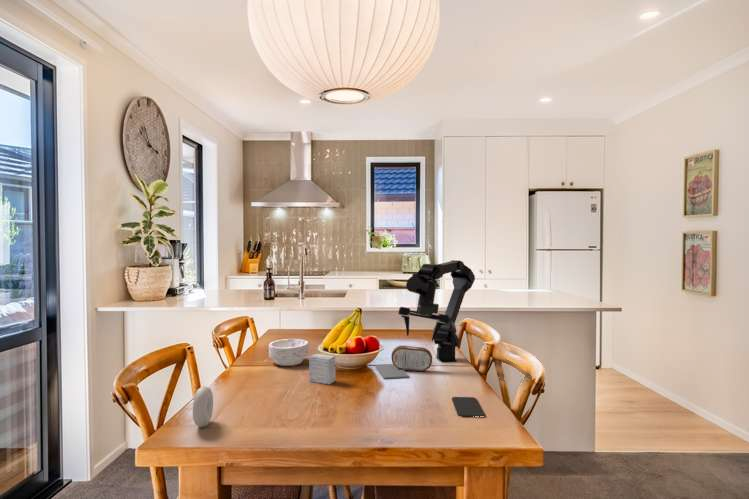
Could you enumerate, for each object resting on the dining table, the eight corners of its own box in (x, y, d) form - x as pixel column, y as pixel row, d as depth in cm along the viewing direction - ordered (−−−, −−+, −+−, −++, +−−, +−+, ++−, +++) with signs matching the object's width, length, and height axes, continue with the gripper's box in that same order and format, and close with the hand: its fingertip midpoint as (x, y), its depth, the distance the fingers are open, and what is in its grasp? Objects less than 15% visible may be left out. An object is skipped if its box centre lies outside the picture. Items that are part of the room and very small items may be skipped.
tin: (431, 370, 169) (433, 347, 169) (431, 372, 166) (433, 349, 165) (390, 366, 170) (392, 344, 170) (390, 368, 167) (391, 345, 167)
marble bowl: (260, 365, 173) (260, 345, 173) (283, 356, 187) (283, 336, 187) (295, 370, 167) (295, 349, 167) (315, 360, 181) (315, 340, 181)
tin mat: (397, 365, 175) (397, 363, 175) (408, 377, 159) (408, 376, 159) (374, 366, 173) (374, 364, 173) (383, 379, 158) (383, 377, 158)
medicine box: (335, 381, 155) (335, 356, 155) (329, 385, 151) (329, 359, 151) (315, 378, 158) (315, 353, 158) (308, 381, 154) (308, 356, 154)
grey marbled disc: (201, 418, 123) (201, 381, 123) (214, 417, 123) (214, 380, 123) (190, 434, 113) (190, 394, 113) (205, 433, 113) (205, 393, 113)
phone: (475, 397, 140) (485, 415, 125) (475, 399, 140) (485, 418, 125) (451, 396, 140) (458, 415, 125) (451, 399, 140) (458, 418, 125)
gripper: (402, 290, 164) (395, 333, 161) (454, 299, 163) (447, 343, 160) (402, 293, 175) (394, 333, 172) (450, 301, 174) (444, 343, 171)
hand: (419, 338), depth 169 cm, fingers open, 9 cm apart
